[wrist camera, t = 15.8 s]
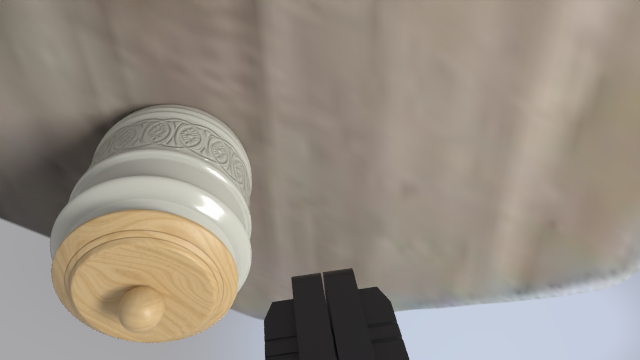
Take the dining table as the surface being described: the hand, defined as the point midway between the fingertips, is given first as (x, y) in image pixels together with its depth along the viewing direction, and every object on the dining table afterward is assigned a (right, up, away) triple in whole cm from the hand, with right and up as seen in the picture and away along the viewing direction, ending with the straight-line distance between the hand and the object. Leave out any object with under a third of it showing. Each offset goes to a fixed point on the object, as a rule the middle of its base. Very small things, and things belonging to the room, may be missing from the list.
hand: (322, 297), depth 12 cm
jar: (-13, +4, +31) cm, 33 cm away
